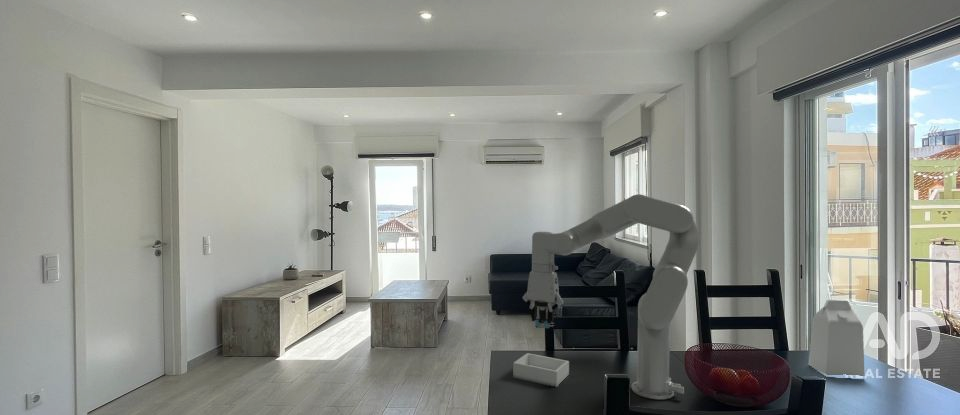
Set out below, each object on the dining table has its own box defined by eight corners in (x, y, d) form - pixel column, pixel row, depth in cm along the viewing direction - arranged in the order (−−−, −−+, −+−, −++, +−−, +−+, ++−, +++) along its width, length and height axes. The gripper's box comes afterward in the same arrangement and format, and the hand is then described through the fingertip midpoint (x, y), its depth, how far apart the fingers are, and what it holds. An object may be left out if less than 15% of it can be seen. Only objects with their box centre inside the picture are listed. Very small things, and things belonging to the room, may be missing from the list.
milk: (844, 368, 170) (846, 297, 170) (864, 380, 159) (866, 304, 158) (808, 365, 172) (810, 295, 172) (825, 377, 161) (827, 302, 161)
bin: (568, 375, 160) (569, 361, 160) (556, 387, 150) (556, 371, 150) (527, 366, 168) (527, 353, 168) (513, 377, 158) (513, 362, 158)
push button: (553, 325, 161) (554, 296, 160) (554, 329, 155) (554, 300, 155) (534, 325, 161) (534, 296, 161) (534, 329, 156) (534, 299, 156)
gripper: (570, 268, 157) (570, 322, 158) (524, 264, 166) (524, 315, 166) (562, 271, 151) (562, 327, 151) (515, 267, 159) (514, 320, 160)
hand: (542, 320), depth 159 cm, fingers closed on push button, 5 cm apart
